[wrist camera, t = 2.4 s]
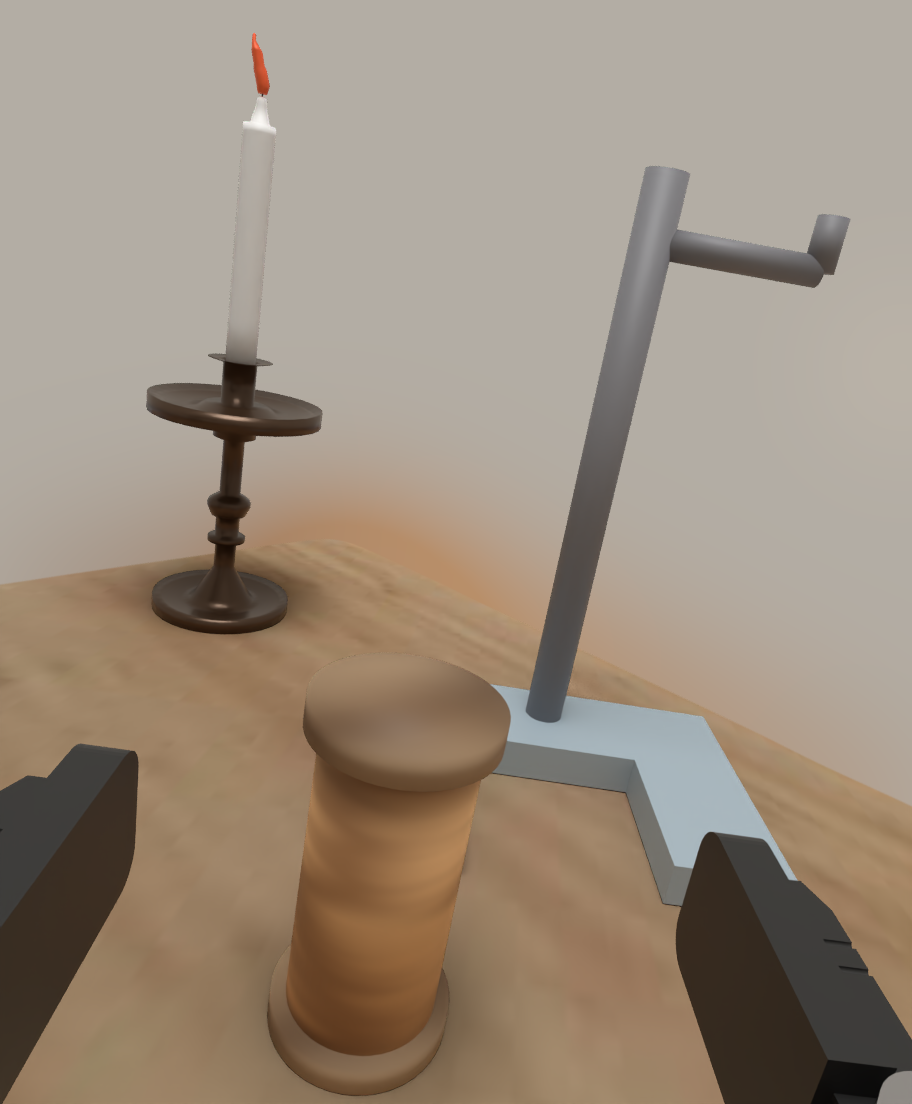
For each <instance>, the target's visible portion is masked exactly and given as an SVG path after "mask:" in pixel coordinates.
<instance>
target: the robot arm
mask: <svg viewBox="0 0 912 1104" xmlns="http://www.w3.org/2000/svg"><path fill="white" fill-rule="evenodd" d="M137 787H138V757H137V754H136V752H135V751H130V750H123V749H115V748H108V747H101V746H93V745H86V744H77V745H76V746H74V747H73V748H72V749H71V751H70V752H69V753H68V754H67V755H66V756H65V758H64V759H63V760H62V761H61V762H60V763H59V765H58V766H57V767H56V768H55V769H54V770H53V772H52V773H51V774H50V775H49V776H48V777H47V778H43V777H36V776H26V777H24V778H22V779H21V780H19V781H17V782H15V783H14V784H12V785H10V786H8V787H6V788H5V789H3V790H1V791H0V1104H2V1103H3V1101H4V1100H5V1098H6V1096H7V1094H8V1093H9V1091H10V1089H11V1087H12V1085H13V1084H14V1082H15V1080H16V1078H17V1077H18V1075H19V1073H20V1071H21V1070H22V1068H23V1066H24V1064H25V1062H26V1061H27V1059H28V1057H29V1055H30V1054H31V1052H32V1050H33V1048H34V1047H35V1045H36V1043H37V1041H38V1040H39V1038H40V1036H41V1034H42V1032H43V1031H44V1029H45V1027H46V1025H47V1024H48V1022H49V1020H50V1018H51V1017H52V1015H53V1013H54V1011H55V1009H56V1008H57V1006H58V1004H59V1002H60V1001H61V999H62V997H63V995H64V994H65V992H66V990H67V988H68V986H69V985H70V983H71V981H72V979H73V978H74V976H75V974H76V972H77V971H78V969H79V967H80V965H81V964H82V962H83V960H84V958H85V956H86V955H87V953H88V951H89V949H90V948H91V946H92V944H93V942H94V941H95V939H96V937H97V935H98V933H99V932H100V930H101V928H102V926H103V925H104V923H105V921H106V919H107V918H108V916H109V914H110V912H111V910H112V909H113V907H114V905H115V903H116V902H117V900H118V898H119V896H120V894H121V892H122V890H123V888H124V886H125V883H126V881H127V878H128V875H129V872H130V868H131V864H132V860H133V855H134V848H135V832H136V810H137ZM851 943H852V942H851V941H850V939H849V937H848V936H847V934H846V933H845V931H844V929H843V928H842V926H841V924H840V923H839V921H838V920H837V918H836V916H835V915H834V913H833V911H832V910H831V909H830V908H829V907H828V906H827V905H825V904H824V903H823V902H822V901H821V900H820V899H819V898H818V897H817V896H816V895H815V894H814V893H813V892H812V891H810V890H809V889H808V888H807V887H806V886H805V885H804V884H803V883H802V882H801V881H795V880H789V879H788V877H787V876H786V874H785V872H784V870H783V869H782V867H781V865H780V864H779V862H778V860H777V858H776V857H775V855H774V853H773V851H772V850H771V848H770V846H769V845H768V843H767V842H766V841H765V840H763V839H761V838H754V837H747V836H739V835H732V834H725V833H717V832H708V833H707V834H706V835H705V836H704V837H703V839H702V841H701V844H700V847H699V850H698V853H697V857H696V860H695V863H694V867H693V870H692V873H691V877H690V880H689V883H688V887H687V890H686V894H685V897H684V900H683V904H682V907H681V910H680V914H679V917H678V922H677V929H676V953H677V960H678V965H679V968H680V971H681V974H682V977H683V980H684V983H685V986H686V989H687V992H688V995H689V998H690V1001H691V1004H692V1007H693V1010H694V1013H695V1016H696V1019H697V1022H698V1025H699V1028H700V1031H701V1034H702V1037H703V1040H704V1043H705V1046H706V1049H707V1052H708V1055H709V1058H710V1061H711V1064H712V1067H713V1070H714V1073H715V1076H716V1079H717V1082H718V1085H719V1088H720V1091H721V1094H722V1097H723V1100H724V1102H725V1104H912V1039H911V1038H910V1036H909V1035H908V1033H907V1031H906V1030H905V1028H904V1026H903V1025H902V1023H901V1022H900V1020H899V1018H898V1017H897V1015H896V1013H895V1012H894V1010H893V1009H892V1007H891V1005H890V1004H889V1002H888V1001H887V999H886V997H885V996H884V994H883V992H882V991H881V989H880V988H879V986H878V984H877V983H876V981H875V979H874V978H873V976H869V975H868V968H867V967H866V965H865V963H864V962H863V960H862V958H861V957H860V955H859V954H858V952H857V950H856V949H852V946H851Z"/></svg>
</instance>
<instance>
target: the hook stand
mask: <svg viewBox="0 0 912 1104" xmlns="http://www.w3.org/2000/svg"><path fill="white" fill-rule="evenodd" d="M689 177H690V174H689V173H688V172H686V171H683V170H679V169H675V168H668V167H660V166H649V167H646V168H645V173H644V177H643V182H642V186H641V191H640V195H639V200H638V204H637V209H636V214H635V218H634V223H633V227H632V232H631V236H630V241H629V245H628V250H627V254H626V259H625V263H624V268H623V272H622V277H621V281H620V286H619V290H618V295H617V299H616V304H615V308H614V313H613V318H612V322H611V327H610V331H609V336H608V340H607V344H606V349H605V353H604V358H603V363H602V367H601V372H600V376H599V381H598V385H597V390H596V394H595V399H594V403H593V408H592V412H591V417H590V421H589V426H588V431H587V435H586V439H585V444H584V448H583V453H582V457H581V462H580V466H579V471H578V475H577V480H576V484H575V489H574V493H573V498H572V503H571V507H570V512H569V516H568V521H567V526H566V530H565V534H564V539H563V543H562V548H561V552H560V557H559V561H558V566H557V570H556V575H555V580H554V584H553V589H552V593H551V597H550V602H549V607H548V611H547V615H546V620H545V625H544V629H543V634H542V638H541V643H540V647H539V652H538V656H537V661H536V665H535V670H534V674H533V679H532V683H531V688H530V690H524V689H518V688H511V687H505V686H498V685H492V684H490V685H491V686H493V687H494V688H495V689H496V690H497V691H498V692H499V693H500V694H501V695H502V697H503V698H504V700H505V701H506V703H507V705H508V707H509V710H510V714H511V723H510V728H509V733H508V737H507V742H506V747H505V751H504V755H503V758H502V761H501V762H500V764H499V765H498V767H497V768H496V769H495V770H494V771H493V772H492V773H498V774H504V775H511V776H518V777H525V778H532V779H539V780H545V781H552V782H559V783H566V784H573V785H580V786H586V787H593V788H600V789H607V790H614V791H621V792H626V794H627V797H628V800H629V803H630V806H631V809H632V812H633V815H634V818H635V821H636V824H637V827H638V830H639V833H640V836H641V839H642V842H643V845H644V848H645V851H646V854H647V857H648V860H649V863H650V866H651V869H652V872H653V875H654V878H655V881H656V884H657V887H658V890H659V893H660V896H661V899H662V902H663V903H664V904H671V905H679V906H682V904H683V900H684V897H685V894H686V890H687V887H688V883H689V880H690V877H691V873H692V870H693V867H694V863H695V860H696V857H697V853H698V850H699V847H700V844H701V841H702V839H703V837H704V836H705V835H706V834H707V833H708V832H717V833H725V834H732V835H739V836H747V837H754V838H761V839H763V840H765V841H766V842H767V843H768V845H769V846H770V848H771V850H772V851H773V853H774V855H775V857H776V858H777V860H778V862H779V864H780V865H781V867H782V869H783V870H784V872H785V874H786V876H787V877H788V879H789V880H795V881H797V879H796V877H795V876H794V874H793V872H792V870H791V869H790V867H789V865H788V863H787V862H786V860H785V858H784V856H783V855H782V853H781V851H780V849H779V848H778V846H777V844H776V843H775V841H774V839H773V837H772V836H771V834H770V832H769V830H768V829H767V827H766V825H765V823H764V822H763V820H762V818H761V816H760V815H759V813H758V811H757V809H756V808H755V806H754V804H753V803H752V801H751V799H750V797H749V796H748V794H747V792H746V790H745V789H744V787H743V785H742V783H741V782H740V780H739V778H738V776H737V775H736V773H735V771H734V769H733V768H732V766H731V764H730V763H729V761H728V759H727V757H726V756H725V754H724V752H723V750H722V749H721V747H720V745H719V743H718V742H717V740H716V738H715V736H714V735H713V733H712V731H711V729H710V728H709V726H708V724H707V723H706V721H705V719H704V717H702V716H696V715H689V714H682V713H676V712H669V711H663V710H656V709H649V708H643V707H636V706H630V705H623V704H617V703H610V702H603V701H597V700H590V699H584V698H577V697H571V696H566V694H567V689H568V685H569V681H570V677H571V673H572V668H573V664H574V660H575V656H576V652H577V647H578V643H579V639H580V635H581V631H582V626H583V622H584V618H585V614H586V610H587V605H588V601H589V597H590V593H591V589H592V584H593V580H594V576H595V572H596V567H597V563H598V559H599V555H600V551H601V547H602V542H603V537H604V534H605V530H606V525H607V521H608V517H609V513H610V509H611V505H612V500H613V496H614V492H615V488H616V483H617V479H618V475H619V471H620V467H621V462H622V458H623V454H624V450H625V446H626V441H627V437H628V433H629V428H630V425H631V421H632V416H633V412H634V408H635V403H636V400H637V395H638V391H639V387H640V383H641V379H642V374H643V370H644V366H645V362H646V358H647V353H648V349H649V345H650V341H651V336H652V332H653V328H654V324H655V320H656V315H657V311H658V307H659V303H660V298H661V294H662V290H663V286H664V282H665V278H666V273H667V269H668V265H669V262H675V263H680V264H685V265H691V266H697V267H702V268H707V269H713V270H719V271H724V272H729V273H735V274H741V275H746V276H751V277H757V278H763V279H768V280H773V281H779V282H784V283H790V284H795V285H801V286H806V287H812V288H815V287H816V286H817V285H818V284H819V283H820V281H821V279H822V277H823V275H824V274H825V275H834V272H835V269H836V266H837V262H838V259H839V255H840V252H841V249H842V246H843V242H844V239H845V235H846V232H847V229H848V225H849V222H850V219H849V218H847V217H842V216H836V215H826V214H822V215H818V217H817V221H816V224H815V227H814V231H813V234H812V238H811V241H810V245H809V248H808V252H807V253H801V252H795V251H790V250H785V249H779V248H774V247H768V246H763V245H757V244H752V243H746V242H741V241H736V240H731V239H725V238H720V237H714V236H709V235H703V234H698V233H693V232H687V231H682V230H677V227H678V223H679V219H680V214H681V210H682V206H683V202H684V198H685V193H686V189H687V185H688V181H689Z"/></svg>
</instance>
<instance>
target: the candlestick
mask: <svg viewBox="0 0 912 1104" xmlns="http://www.w3.org/2000/svg"><path fill="white" fill-rule="evenodd" d="M252 56H253V62H254V73H255V78H256V83H257V90H258V93H260V94H262V97H258V98H257V102H256V106H255V109H254V112H253V115H252V117H251V120H250V121H244V122H243V134H242V146H241V160H240V173H239V187H238V199H237V212H236V225H235V239H234V252H233V265H232V279H231V292H230V305H229V318H228V331H227V332H228V333H227V345H226V354H209V355H208V356H209V357H212V358H215V359H218V360H221V361H223V375H222V385H211V384H193V383H173V384H161V385H155V386H152V387H150V388H148V390H147V403H146V407H147V410H148V411H149V412H151V413H152V414H154V415H156V416H158V417H160V418H163V419H166V420H169V421H172V422H175V423H179V424H183V425H187V426H191V427H196V428H201V429H206V430H212V431H213V435H214V436H216V437H218V438H220V439H223V440H224V441H223V442H224V443H223V455H222V468H221V480H220V491H218V492H216V493H214V494H212V495H210V496H209V498H208V500H207V504H208V507H209V509H210V512H211V513H212V515H214V516H216V525H215V530H213V531H210V532H209V533H208V541H210V542H211V543H214V544H215V556H214V566H213V567H212V568H211V570H194V571H187V572H182V573H178V574H174V575H171V576H168V577H166V578H164V579H162V580H161V581H159V582H158V583H157V584H156V585H155V586H154V588H153V591H152V609H153V610H154V612H155V613H156V614H157V615H158V616H159V617H160V618H162V619H163V620H165V621H167V622H169V623H170V624H173V625H176V626H178V627H181V628H185V629H189V630H193V631H198V632H205V633H216V634H238V633H248V632H253V631H258V630H262V629H265V628H268V627H271V626H273V625H275V624H277V623H278V622H280V621H281V620H282V619H283V618H284V616H285V614H286V611H287V601H288V599H287V594H286V592H285V591H284V590H283V589H282V588H281V587H280V586H279V585H277V584H275V583H274V582H272V581H270V580H267V579H265V578H262V577H259V576H256V575H252V574H248V573H243V572H237V571H236V569H235V568H234V563H235V551H236V546H237V545H241V544H243V543H244V541H245V536H244V535H243V534H242V533H240V532H239V519H240V518H243V517H245V515H246V514H247V512H248V511H249V509H250V504H251V503H250V500H249V499H248V498H247V497H246V496H244V495H243V494H241V493H240V490H241V477H242V467H243V455H244V443H245V442H249V441H254V440H255V439H256V436H274V437H277V436H278V437H280V436H281V437H283V436H302V435H308V434H313V433H315V432H318V431H319V430H320V429H321V421H322V410H321V409H320V408H318V407H317V406H315V405H313V404H310V403H308V402H305V401H302V400H299V399H295V398H292V397H288V396H284V395H280V394H275V393H270V392H265V391H259V390H255V384H256V373H257V366H268V365H273V364H272V363H270V362H268V361H265V360H261V359H256V355H257V343H258V332H259V319H260V308H261V296H262V286H263V274H264V263H265V252H266V240H267V229H268V217H269V206H270V194H271V182H272V171H273V160H274V148H275V137H276V128H274V127H272V126H270V124H269V118H268V112H267V100H266V99H265V98H264V97H263V95H267V93H268V90H269V87H270V85H269V80H268V75H267V71H266V68H265V66H264V59H263V53H262V51H261V49H260V47H259V46H258V44H257V42H256V34H255V33H254V34H253V37H252Z"/></svg>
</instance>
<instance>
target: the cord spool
mask: <svg viewBox="0 0 912 1104" xmlns="http://www.w3.org/2000/svg"><path fill="white" fill-rule="evenodd" d="M510 723H511V714H510V710H509V707H508V705H507V703H506V701H505V700H504V698H503V697H502V695H501V694H500V693H499V692H498V691H497V690H496V689H495V688H494V687H493V686H491V685H490V684H489V683H488V682H486V681H485V680H483V679H482V678H480V677H478V676H477V675H475V674H473V673H471V672H469V671H467V670H465V669H463V668H460V667H458V666H456V665H453V664H450V663H447V662H444V661H441V660H437V659H433V658H429V657H424V656H419V655H412V654H403V653H368V654H360V655H354V656H350V657H346V658H342V659H339V660H337V661H334V662H332V663H330V664H328V665H326V666H324V667H323V668H322V669H320V670H319V671H318V672H317V673H316V674H315V675H314V676H313V677H312V679H311V680H310V682H309V684H308V687H307V693H306V701H305V709H304V717H303V729H304V734H305V737H306V739H307V741H308V743H309V744H310V746H311V747H312V749H313V750H314V751H315V752H316V759H315V767H314V775H313V782H312V790H311V798H310V805H309V813H308V820H307V828H306V836H305V843H304V851H303V859H302V866H301V874H300V882H299V889H298V897H297V905H296V912H295V920H294V928H293V935H292V943H291V945H290V946H289V947H288V948H287V949H286V950H285V952H284V953H283V954H282V956H281V957H280V959H279V961H278V962H277V965H276V967H275V969H274V972H273V976H272V980H271V986H270V994H269V1002H268V1013H267V1018H268V1028H269V1032H270V1036H271V1039H272V1041H273V1044H274V1046H275V1048H276V1050H277V1052H278V1053H279V1055H280V1057H281V1058H282V1059H283V1060H284V1062H285V1063H286V1064H287V1065H288V1066H289V1067H290V1068H291V1069H292V1070H293V1071H294V1072H295V1073H296V1074H297V1075H299V1076H300V1077H301V1078H303V1079H304V1080H306V1081H307V1082H309V1083H311V1084H313V1085H315V1086H317V1087H319V1088H322V1089H325V1090H327V1091H330V1092H335V1093H339V1094H345V1095H372V1094H378V1093H382V1092H386V1091H389V1090H392V1089H395V1088H397V1087H399V1086H402V1085H404V1084H405V1083H407V1082H408V1081H410V1080H412V1079H413V1078H415V1077H416V1076H417V1075H418V1074H419V1073H421V1072H422V1071H423V1070H424V1069H425V1067H426V1066H427V1065H428V1064H429V1063H430V1062H431V1060H432V1059H433V1057H434V1056H435V1054H436V1052H437V1050H438V1048H439V1046H440V1043H441V1040H442V1037H443V1033H444V1028H445V1024H446V1019H447V1014H448V1009H449V987H448V982H447V979H446V976H445V973H444V971H443V969H442V964H443V960H444V955H445V950H446V945H447V940H448V936H449V931H450V926H451V921H452V916H453V912H454V907H455V902H456V897H457V892H458V888H459V883H460V878H461V873H462V869H463V864H464V859H465V854H466V849H467V845H468V840H469V835H470V830H471V825H472V821H473V816H474V811H475V806H476V801H477V797H478V792H479V787H480V782H481V780H482V779H484V778H485V777H486V776H488V775H489V774H491V773H492V772H493V771H494V770H495V769H496V768H497V767H498V765H499V764H500V762H501V761H502V758H503V755H504V751H505V747H506V742H507V737H508V733H509V728H510Z"/></svg>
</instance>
